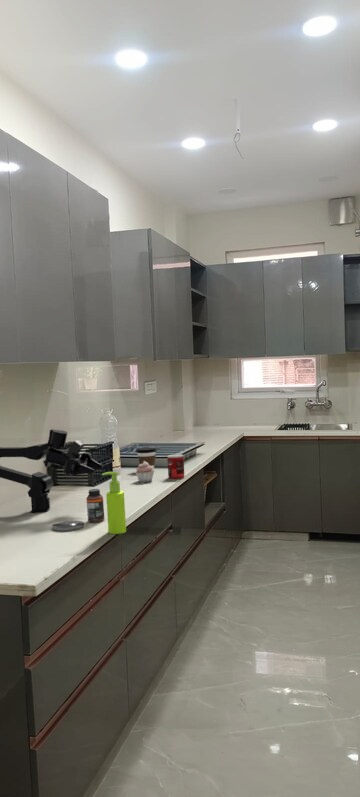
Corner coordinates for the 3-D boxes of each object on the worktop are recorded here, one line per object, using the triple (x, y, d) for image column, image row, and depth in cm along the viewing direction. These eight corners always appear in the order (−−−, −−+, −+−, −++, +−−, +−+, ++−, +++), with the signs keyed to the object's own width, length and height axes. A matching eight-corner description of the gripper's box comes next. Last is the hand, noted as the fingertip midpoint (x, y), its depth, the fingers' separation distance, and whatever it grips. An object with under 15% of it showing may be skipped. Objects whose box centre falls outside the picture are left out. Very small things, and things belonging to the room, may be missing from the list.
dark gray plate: (49, 532, 207) (49, 529, 207) (55, 524, 218) (54, 521, 218) (82, 530, 208) (82, 527, 208) (86, 522, 219) (85, 519, 219)
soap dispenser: (106, 529, 207) (103, 471, 206) (127, 528, 207) (123, 470, 206) (104, 534, 201) (100, 474, 200) (125, 533, 201) (121, 473, 200)
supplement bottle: (96, 518, 225) (94, 487, 224) (108, 520, 221) (106, 488, 220) (84, 521, 220) (82, 490, 219) (95, 523, 216) (93, 491, 216)
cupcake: (135, 480, 299) (134, 460, 299) (154, 479, 300) (153, 458, 299) (135, 483, 290) (134, 462, 290) (155, 482, 291) (153, 461, 290)
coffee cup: (143, 469, 332) (141, 447, 332) (161, 469, 328) (160, 447, 327) (133, 472, 322) (132, 450, 322) (152, 473, 318) (151, 450, 317)
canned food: (169, 476, 305) (168, 454, 304) (185, 476, 304) (184, 454, 303) (167, 479, 297) (166, 456, 297) (183, 478, 296) (182, 456, 296)
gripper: (55, 441, 229) (93, 452, 225) (75, 435, 247) (111, 445, 244) (49, 470, 230) (87, 481, 227) (69, 462, 248) (105, 472, 245)
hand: (98, 469), depth 235 cm, fingers open, 9 cm apart
